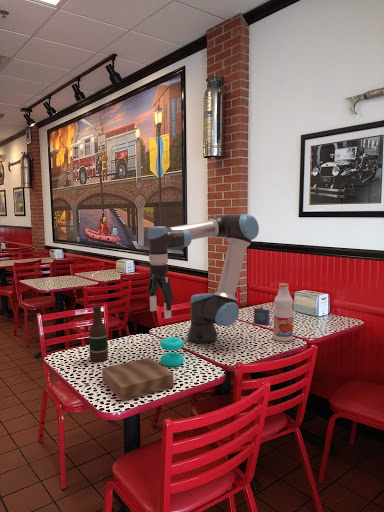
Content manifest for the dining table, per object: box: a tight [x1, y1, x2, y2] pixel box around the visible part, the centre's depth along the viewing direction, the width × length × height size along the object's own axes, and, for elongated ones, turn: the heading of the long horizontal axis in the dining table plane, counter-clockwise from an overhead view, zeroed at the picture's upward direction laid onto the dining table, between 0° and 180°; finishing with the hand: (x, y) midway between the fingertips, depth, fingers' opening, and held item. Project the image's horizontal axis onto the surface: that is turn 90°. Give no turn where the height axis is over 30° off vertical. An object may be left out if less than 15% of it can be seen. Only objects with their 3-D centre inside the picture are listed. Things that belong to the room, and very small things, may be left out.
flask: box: [253, 305, 271, 326], centre depth 223 cm, size 9×3×11 cm, turn 61°
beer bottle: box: [88, 304, 109, 363], centre depth 171 cm, size 8×8×24 cm
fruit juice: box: [273, 282, 294, 342], centre depth 196 cm, size 9×9×28 cm
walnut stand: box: [101, 357, 175, 402], centre depth 147 cm, size 20×20×5 cm
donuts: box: [159, 336, 185, 367], centre depth 167 cm, size 10×10×10 cm
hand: (160, 314), depth 164 cm, fingers open, 13 cm apart
